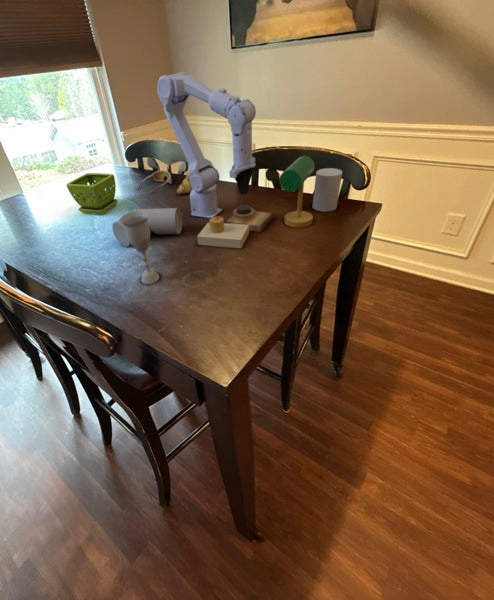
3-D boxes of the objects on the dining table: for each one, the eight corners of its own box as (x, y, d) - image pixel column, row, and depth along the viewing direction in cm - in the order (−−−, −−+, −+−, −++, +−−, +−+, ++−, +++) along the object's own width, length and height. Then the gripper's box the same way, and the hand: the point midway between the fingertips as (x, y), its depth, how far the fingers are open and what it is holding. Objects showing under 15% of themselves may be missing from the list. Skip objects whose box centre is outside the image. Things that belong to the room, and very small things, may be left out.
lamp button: (235, 214, 105) (234, 209, 104) (240, 209, 108) (240, 204, 107) (247, 215, 103) (246, 210, 102) (252, 210, 106) (252, 205, 105)
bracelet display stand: (277, 228, 102) (279, 169, 90) (291, 211, 111) (295, 155, 99) (305, 232, 97) (312, 171, 86) (317, 214, 106) (324, 156, 95)
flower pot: (76, 215, 129) (64, 184, 121) (97, 202, 138) (87, 172, 130) (103, 217, 124) (93, 185, 116) (123, 203, 133) (114, 173, 126)
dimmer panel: (198, 244, 98) (197, 235, 96) (208, 230, 106) (208, 221, 104) (241, 248, 94) (240, 239, 92) (249, 233, 101) (249, 224, 99)
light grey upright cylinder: (337, 211, 107) (343, 175, 99) (313, 211, 109) (317, 176, 101) (335, 202, 113) (340, 167, 105) (311, 202, 115) (315, 168, 107)
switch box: (227, 226, 106) (226, 215, 104) (239, 215, 113) (239, 204, 110) (260, 232, 101) (260, 220, 98) (271, 219, 107) (271, 208, 105)
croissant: (184, 204, 134) (188, 190, 128) (167, 191, 136) (170, 175, 130) (214, 187, 146) (219, 173, 139) (199, 175, 148) (203, 160, 141)
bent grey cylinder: (155, 215, 117) (111, 238, 105) (153, 189, 109) (106, 210, 98) (190, 235, 110) (147, 261, 98) (191, 208, 102) (145, 234, 91)
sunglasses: (178, 182, 147) (175, 172, 144) (155, 197, 141) (152, 187, 137) (158, 178, 155) (155, 168, 152) (136, 192, 149) (132, 182, 145)
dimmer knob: (221, 233, 96) (221, 222, 94) (208, 232, 98) (207, 221, 95) (226, 227, 99) (225, 215, 97) (213, 226, 101) (212, 215, 98)
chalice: (139, 272, 89) (122, 213, 78) (162, 269, 89) (148, 209, 78) (136, 287, 83) (117, 225, 72) (162, 284, 83) (146, 221, 72)
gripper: (244, 156, 87) (245, 203, 96) (264, 142, 97) (263, 186, 105) (222, 154, 90) (225, 200, 99) (243, 142, 100) (244, 184, 108)
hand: (243, 193), depth 102 cm, fingers closed
